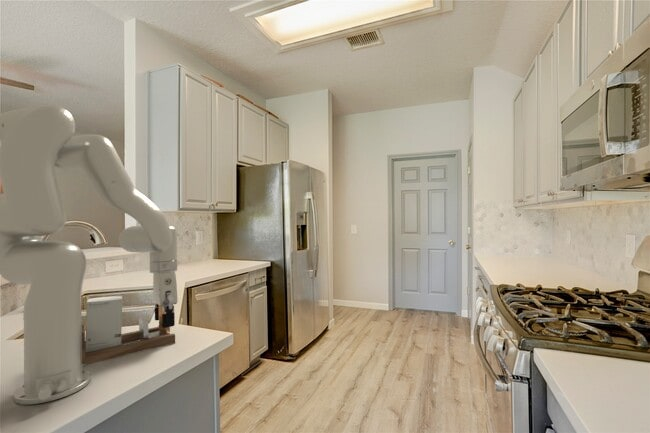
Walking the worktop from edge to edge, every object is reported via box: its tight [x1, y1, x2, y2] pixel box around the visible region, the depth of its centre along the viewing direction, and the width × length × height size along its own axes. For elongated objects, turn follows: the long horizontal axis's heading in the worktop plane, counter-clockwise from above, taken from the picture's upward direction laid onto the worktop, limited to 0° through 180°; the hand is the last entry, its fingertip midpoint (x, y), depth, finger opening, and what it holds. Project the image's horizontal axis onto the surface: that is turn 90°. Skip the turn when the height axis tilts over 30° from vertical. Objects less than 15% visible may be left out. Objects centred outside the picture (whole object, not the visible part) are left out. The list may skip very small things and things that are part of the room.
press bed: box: [82, 321, 176, 366], centre depth 92 cm, size 12×24×8 cm, turn 129°
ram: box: [138, 305, 171, 341], centre depth 97 cm, size 7×8×11 cm
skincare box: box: [85, 295, 123, 353], centre depth 90 cm, size 8×6×15 cm
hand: (164, 323), depth 99 cm, fingers open, 9 cm apart
